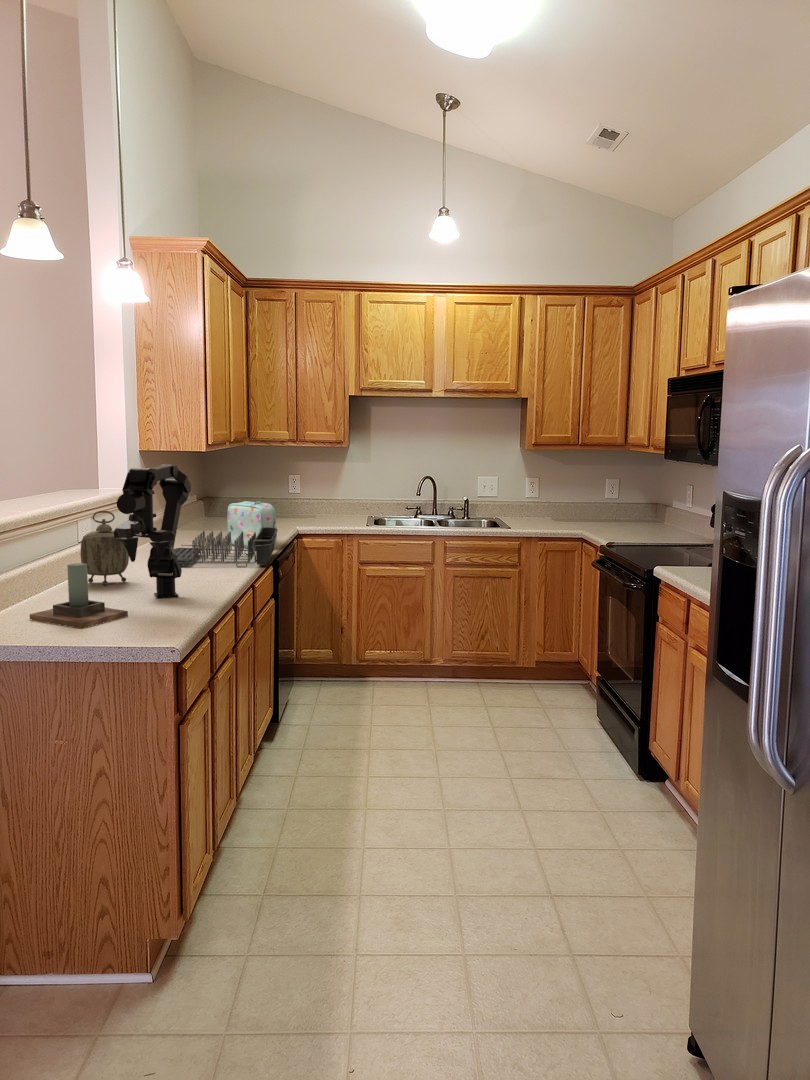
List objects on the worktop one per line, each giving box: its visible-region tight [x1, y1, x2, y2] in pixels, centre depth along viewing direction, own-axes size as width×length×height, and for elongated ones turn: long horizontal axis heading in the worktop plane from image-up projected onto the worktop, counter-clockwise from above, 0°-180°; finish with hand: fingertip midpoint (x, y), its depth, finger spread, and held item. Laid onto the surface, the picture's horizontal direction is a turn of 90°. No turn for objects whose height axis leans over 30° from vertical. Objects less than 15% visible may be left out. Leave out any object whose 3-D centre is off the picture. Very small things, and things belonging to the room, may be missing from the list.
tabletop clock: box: [80, 510, 130, 586], centre depth 259 cm, size 14×9×25 cm, turn 103°
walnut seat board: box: [29, 599, 129, 629], centre depth 214 cm, size 16×20×4 cm
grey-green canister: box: [66, 562, 90, 608], centre depth 213 cm, size 5×5×13 cm
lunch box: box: [226, 500, 278, 549], centre depth 347 cm, size 27×10×21 cm, turn 51°
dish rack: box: [174, 527, 278, 568], centre depth 310 cm, size 34×44×12 cm
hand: (144, 563), depth 228 cm, fingers open, 9 cm apart
